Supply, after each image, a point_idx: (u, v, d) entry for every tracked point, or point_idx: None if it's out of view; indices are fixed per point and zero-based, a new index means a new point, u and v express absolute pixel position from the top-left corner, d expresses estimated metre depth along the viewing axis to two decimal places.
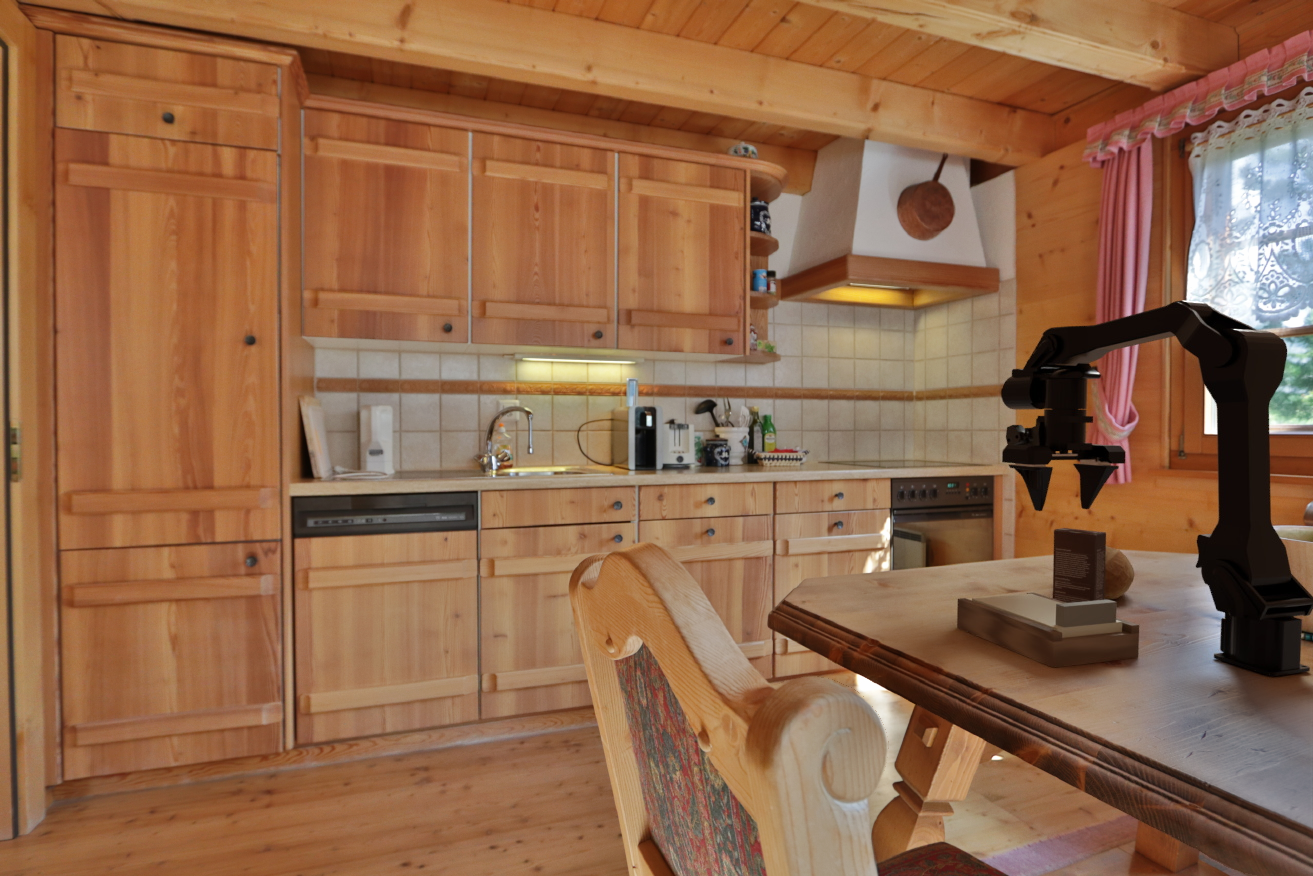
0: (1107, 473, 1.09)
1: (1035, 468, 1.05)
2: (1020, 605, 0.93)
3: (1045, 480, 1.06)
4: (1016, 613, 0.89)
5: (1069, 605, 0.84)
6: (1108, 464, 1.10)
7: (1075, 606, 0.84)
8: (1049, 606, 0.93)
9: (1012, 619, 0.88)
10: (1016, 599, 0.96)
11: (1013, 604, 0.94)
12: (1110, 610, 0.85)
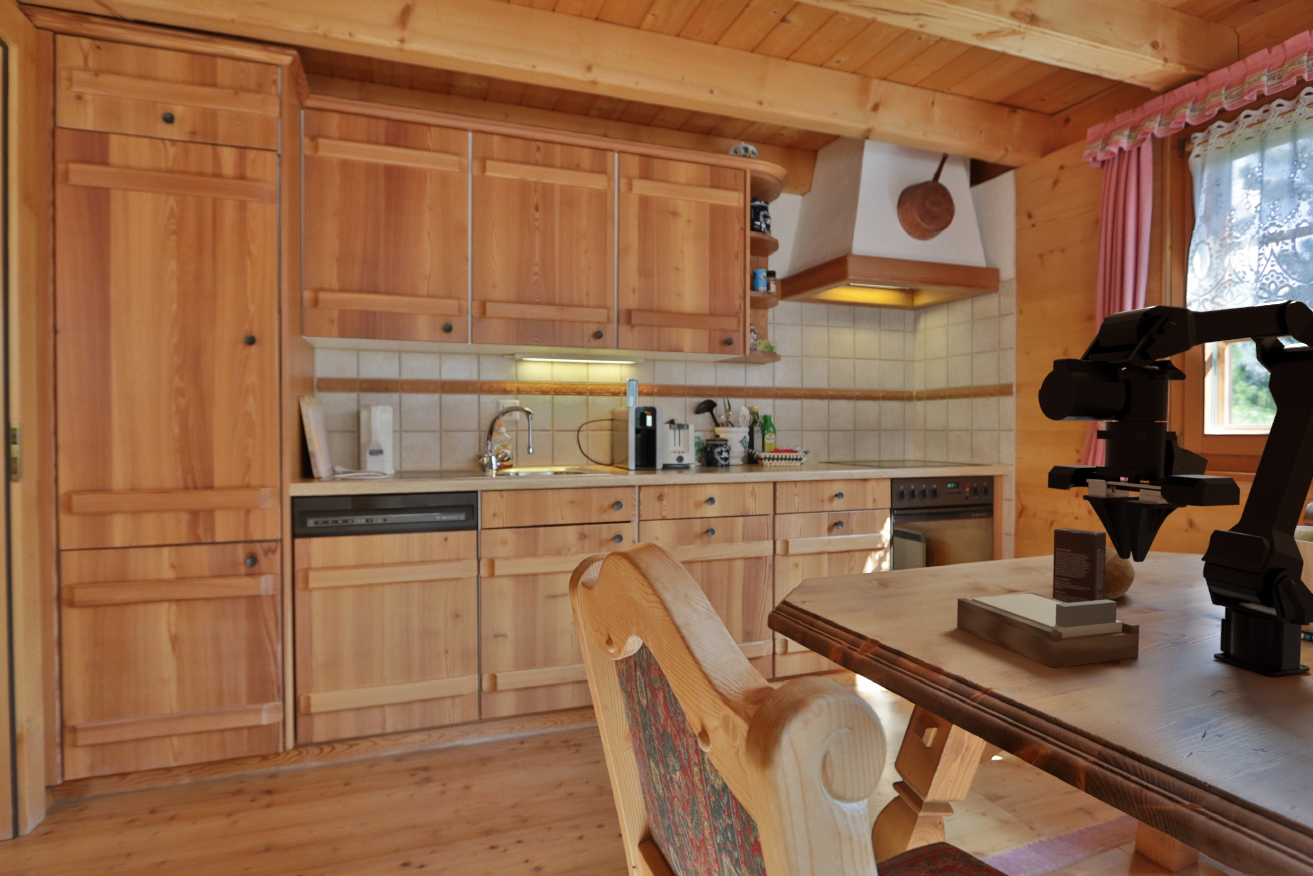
0: (1133, 512, 0.77)
1: (1083, 496, 0.83)
2: (1020, 605, 0.93)
3: (1101, 515, 0.81)
4: (1016, 613, 0.89)
5: (1069, 605, 0.84)
6: (1153, 501, 0.76)
7: (1075, 606, 0.84)
8: (1049, 606, 0.93)
9: (1012, 619, 0.88)
10: (1016, 599, 0.96)
11: (1013, 604, 0.94)
12: (1110, 610, 0.85)
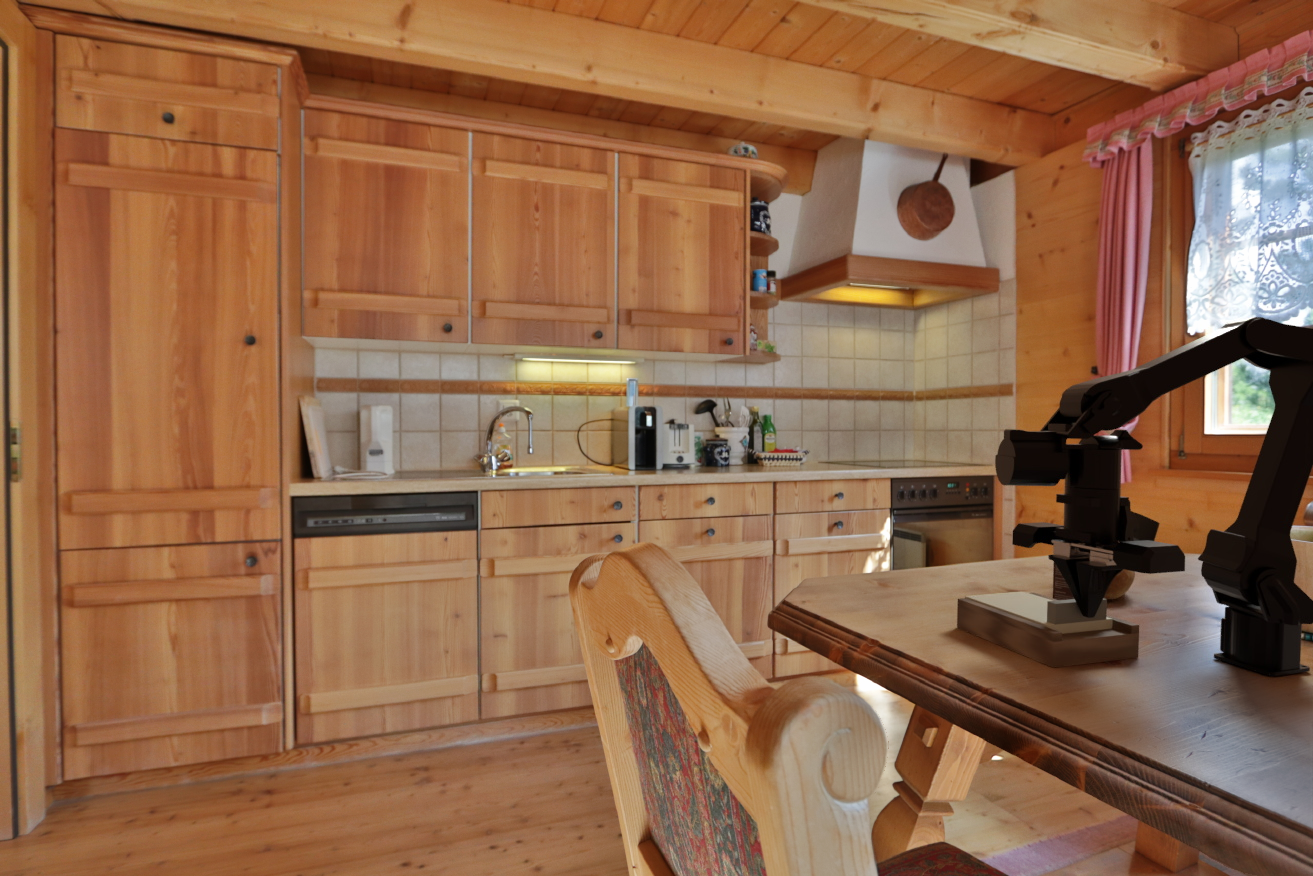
0: (1083, 572, 0.82)
1: None
2: (1012, 603, 0.94)
3: (1065, 575, 0.85)
4: (1008, 610, 0.91)
5: (1060, 602, 0.85)
6: (1101, 563, 0.81)
7: (1066, 603, 0.85)
8: (1041, 603, 0.94)
9: (1012, 619, 0.88)
10: (1008, 597, 0.97)
11: (1005, 602, 0.95)
12: (1100, 608, 0.87)
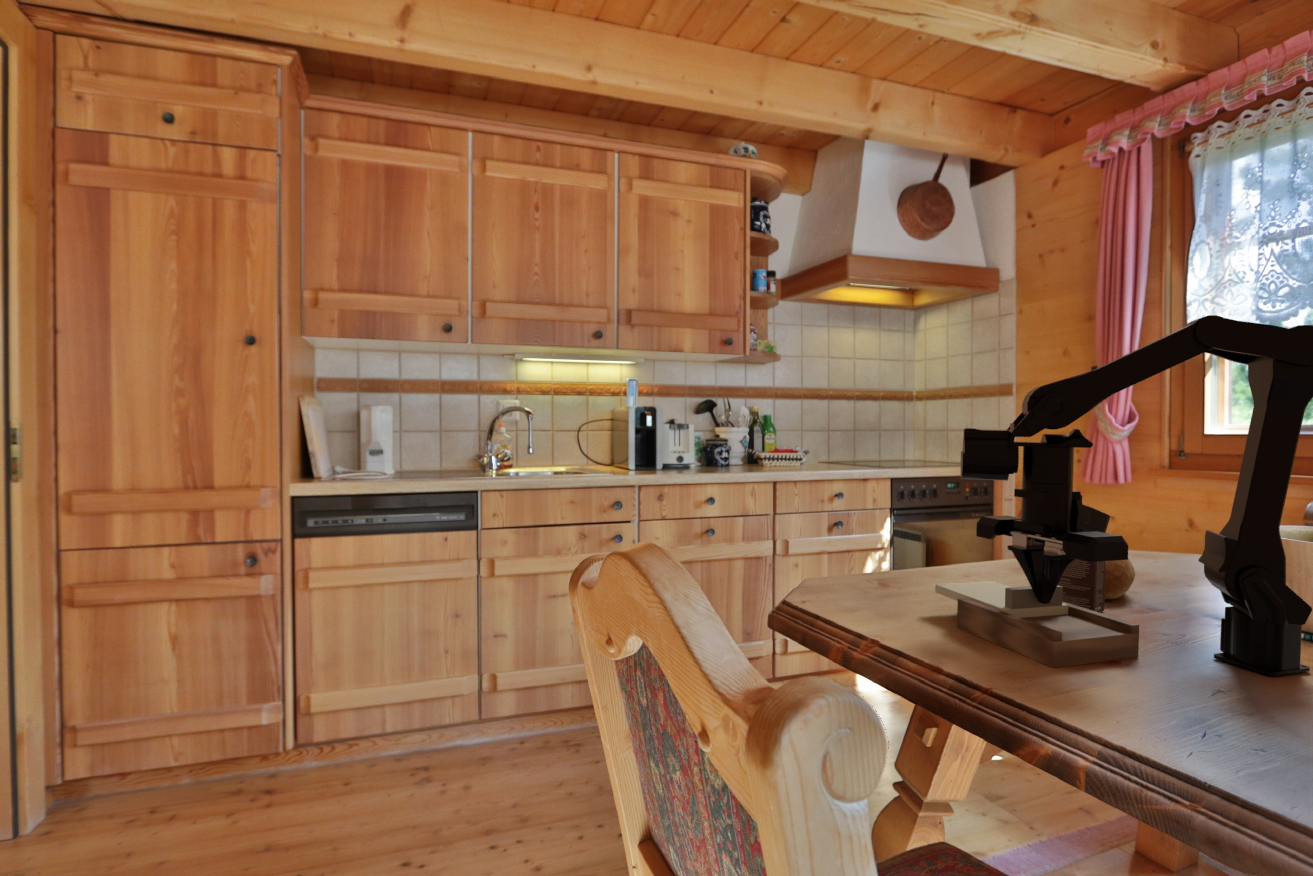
0: (1038, 561, 0.89)
1: None
2: (978, 590, 1.01)
3: (1022, 564, 0.92)
4: (972, 597, 0.97)
5: (1017, 589, 0.92)
6: (1054, 553, 0.88)
7: (1022, 590, 0.92)
8: None
9: (1012, 619, 0.88)
10: (976, 585, 1.04)
11: (972, 589, 1.01)
12: (1056, 594, 0.93)
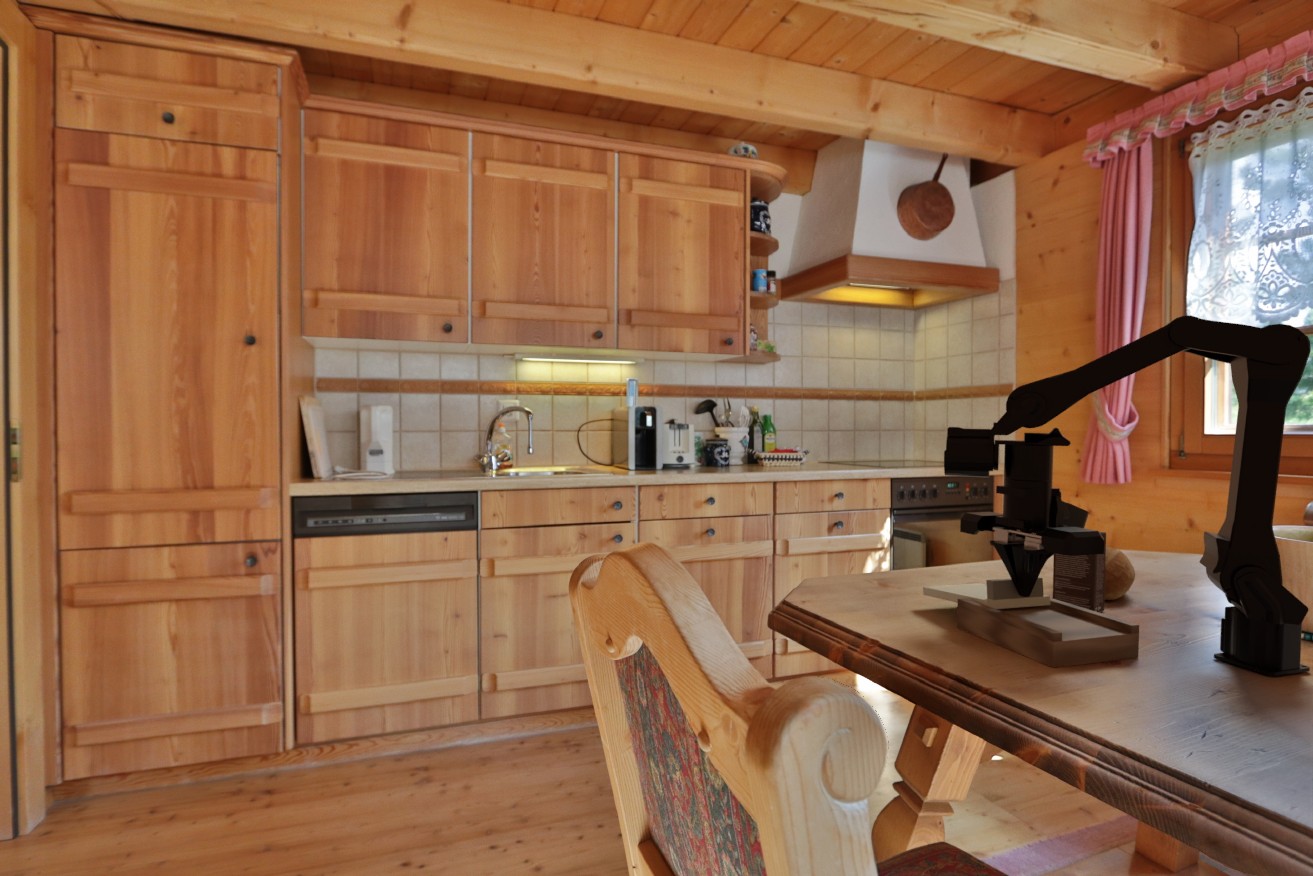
0: (1018, 556, 0.92)
1: (990, 542, 0.96)
2: (964, 589, 1.04)
3: (1003, 558, 0.95)
4: (957, 593, 1.00)
5: (997, 580, 0.95)
6: (1033, 547, 0.91)
7: (1003, 581, 0.95)
8: None
9: (1012, 619, 0.88)
10: (963, 586, 1.07)
11: (958, 589, 1.04)
12: (1036, 585, 0.96)
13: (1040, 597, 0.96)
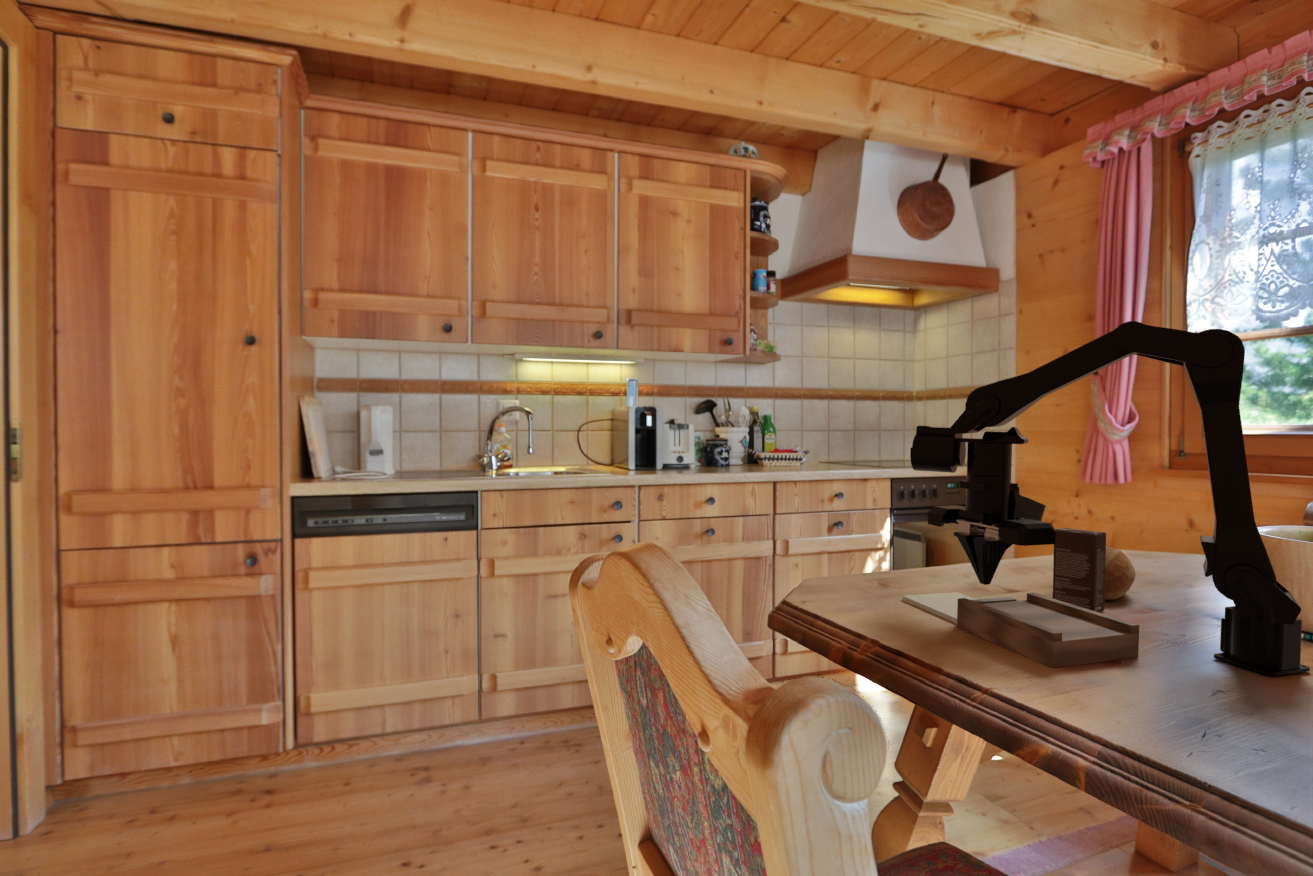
0: (978, 546, 0.98)
1: (954, 533, 1.03)
2: (941, 602, 1.08)
3: (965, 548, 1.01)
4: (934, 608, 1.04)
5: None
6: (993, 538, 0.97)
7: (978, 602, 0.99)
8: None
9: (1012, 619, 0.88)
10: (941, 597, 1.11)
11: (935, 601, 1.09)
12: None
13: None
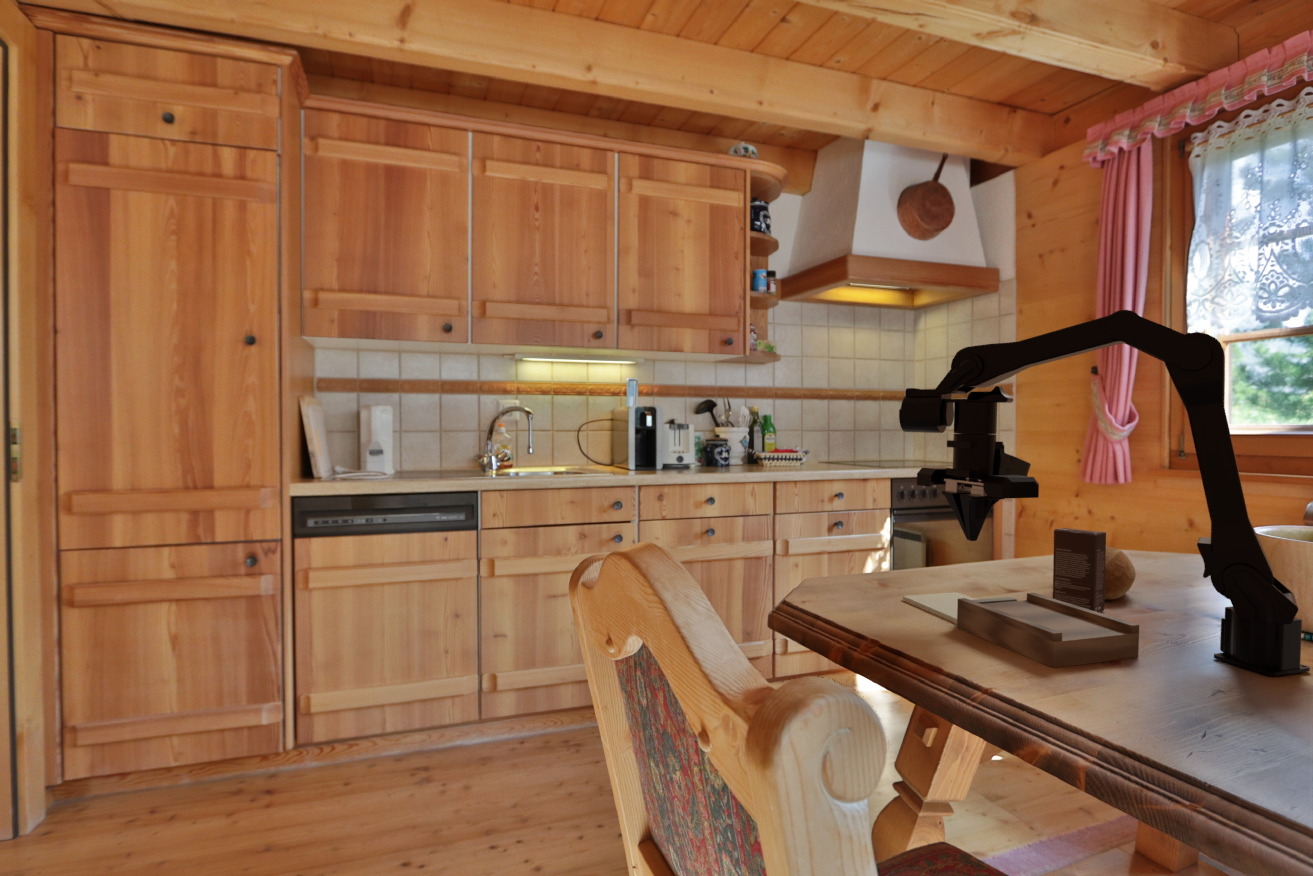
0: (965, 502, 1.01)
1: None
2: (941, 602, 1.08)
3: (953, 506, 1.04)
4: (934, 608, 1.04)
5: None
6: (978, 494, 1.00)
7: (978, 602, 0.99)
8: None
9: (1012, 619, 0.88)
10: (941, 597, 1.11)
11: (936, 601, 1.09)
12: None
13: None
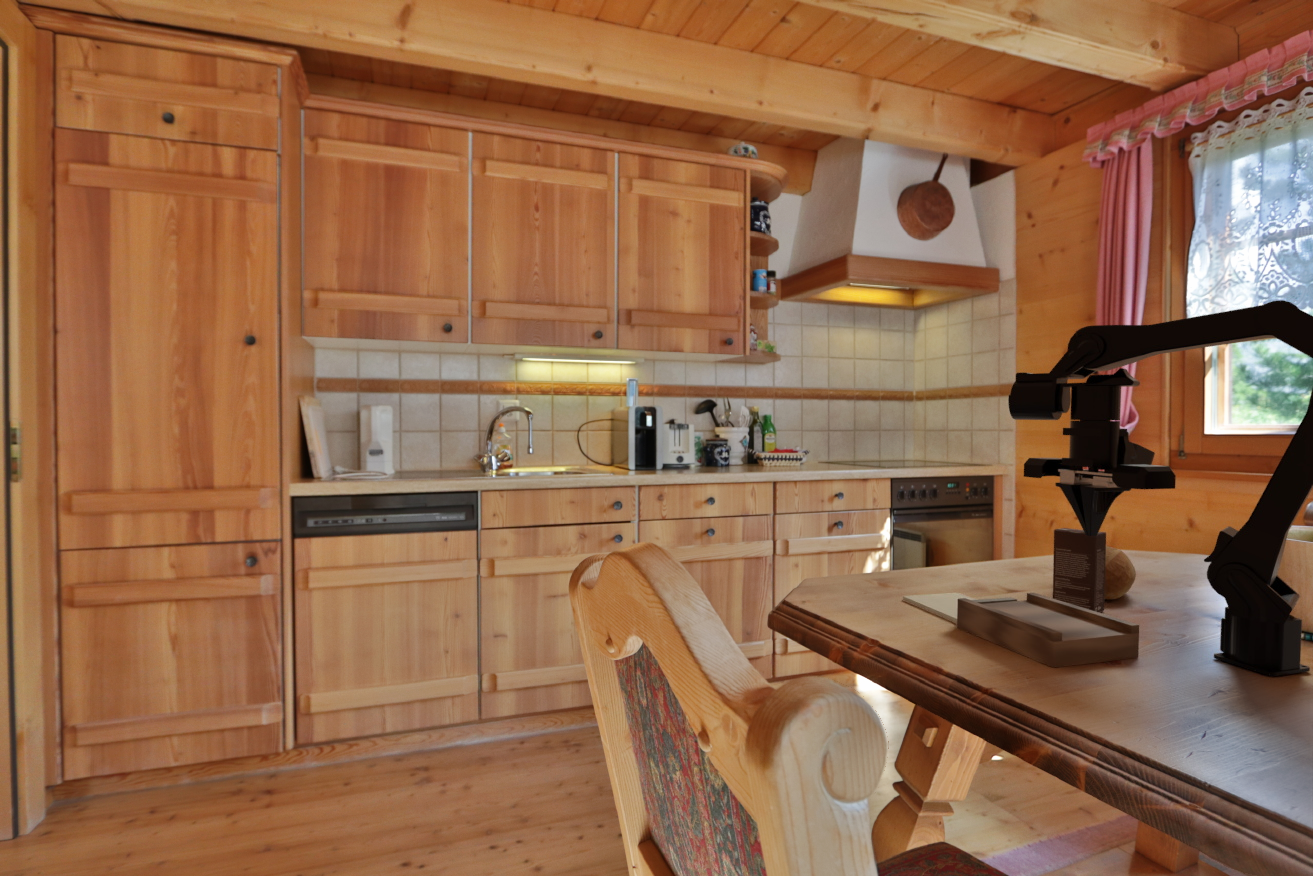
0: (1087, 494, 0.93)
1: None
2: (941, 602, 1.08)
3: (1070, 499, 0.96)
4: (934, 608, 1.04)
5: None
6: (1103, 486, 0.92)
7: (979, 602, 0.99)
8: None
9: (1012, 619, 0.88)
10: (941, 597, 1.11)
11: (936, 601, 1.08)
12: None
13: None
